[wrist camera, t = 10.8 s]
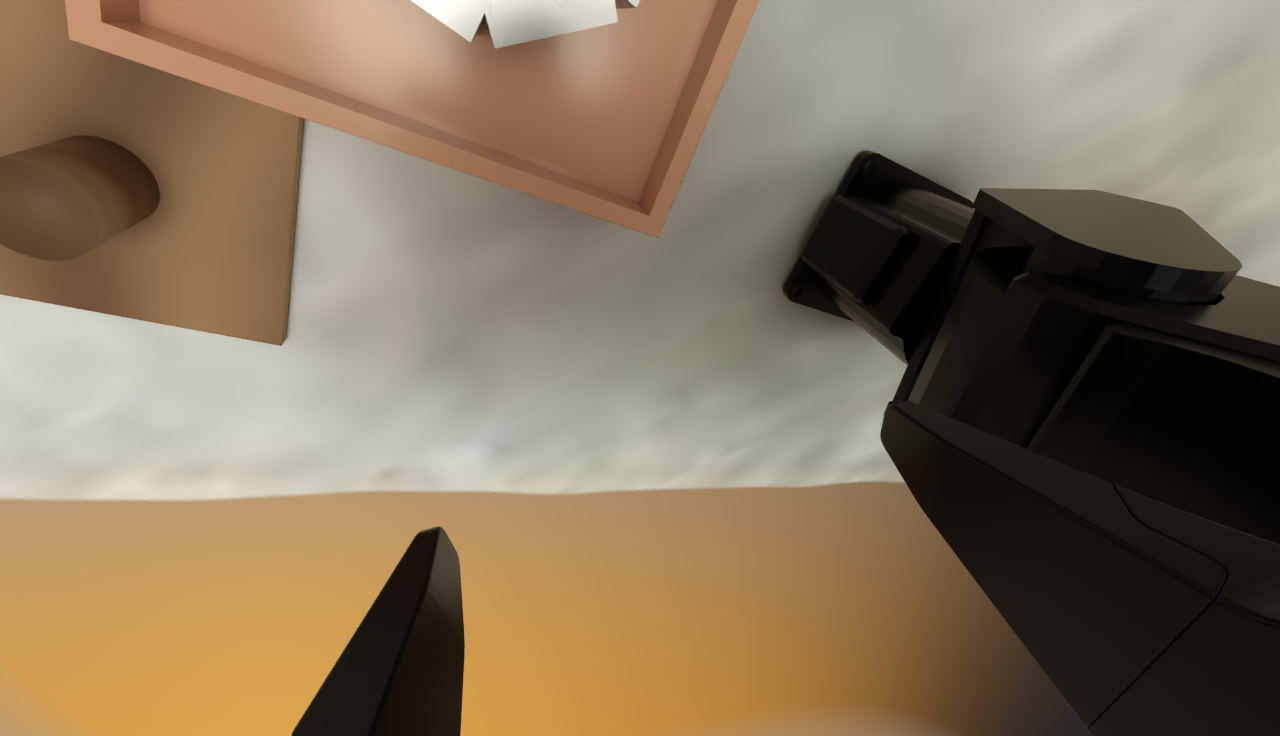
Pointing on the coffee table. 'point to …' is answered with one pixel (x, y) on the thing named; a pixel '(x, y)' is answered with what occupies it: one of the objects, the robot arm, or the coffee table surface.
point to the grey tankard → (523, 17)
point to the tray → (462, 85)
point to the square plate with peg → (140, 186)
